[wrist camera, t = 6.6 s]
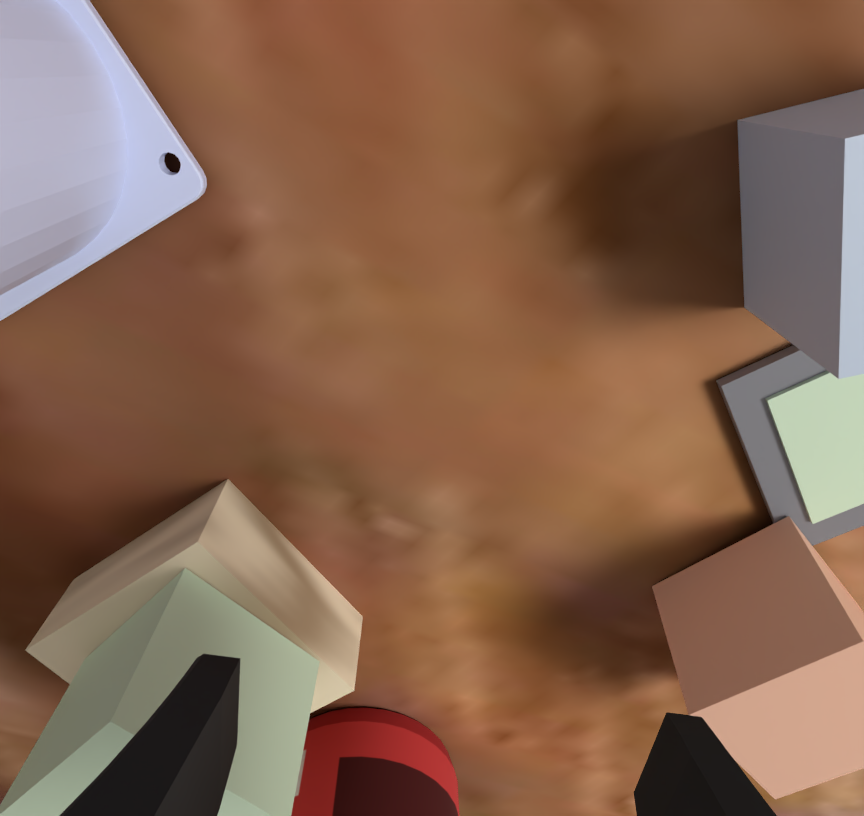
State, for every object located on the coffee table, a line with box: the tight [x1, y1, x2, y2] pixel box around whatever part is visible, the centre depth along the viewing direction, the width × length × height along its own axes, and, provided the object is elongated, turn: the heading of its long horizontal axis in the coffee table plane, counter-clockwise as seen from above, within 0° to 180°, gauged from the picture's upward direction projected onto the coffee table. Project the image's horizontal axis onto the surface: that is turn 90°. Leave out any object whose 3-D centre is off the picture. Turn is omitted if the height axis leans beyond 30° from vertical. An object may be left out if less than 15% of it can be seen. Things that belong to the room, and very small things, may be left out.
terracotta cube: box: [652, 516, 864, 799], centre depth 22 cm, size 5×5×5 cm
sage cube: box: [0, 568, 320, 816], centre depth 19 cm, size 5×5×5 cm
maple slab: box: [26, 479, 363, 713], centre depth 23 cm, size 7×7×4 cm
